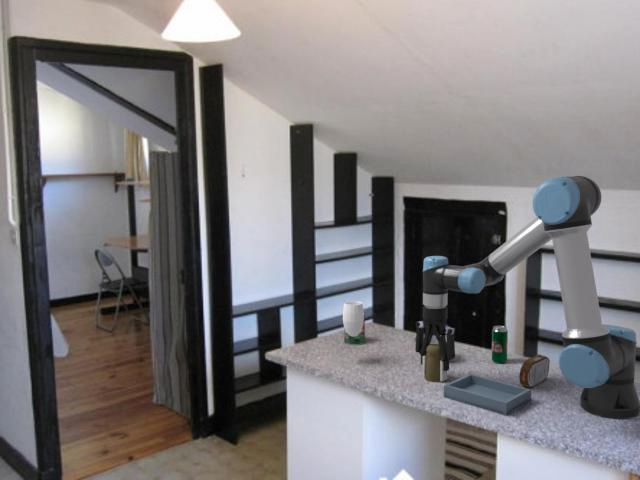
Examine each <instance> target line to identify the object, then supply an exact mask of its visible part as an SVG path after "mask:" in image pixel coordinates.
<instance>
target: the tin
mask: <svg viewBox="0 0 640 480" xmlns="http://www.w3.org/2000/svg"><path fill="white" fill-rule="evenodd" d="M550 361H551V360H550V358H549V357H547V356H546V355H542V354H540V353H539V354H536V355H534V356H533V357H530V358H527V359H525V361H524V362H523V363H522V365H521V367H520V371H519V375H518V376H519V377H518V379H519V380H518V381H519V384H520V386H521V387H524V388H528V389H531V388H534V387H535V386H537V385H539V384H541V383H543V382H545V380H546V379H547V378H548V375H549V372H550V363H551V362H550Z"/></svg>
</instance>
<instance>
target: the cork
mask: <svg viewBox="0 0 640 480" xmlns="http://www.w3.org/2000/svg"><path fill="white" fill-rule="evenodd" d="M427 354H428V361H427V368H426V375H425V377H424V379H425V380H426V381H427V382H431V383H441V382H442V381H440V361H441V360H442V355H441V351H440V347H439V345H438V344H430V345H428V347H427Z"/></svg>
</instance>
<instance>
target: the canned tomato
mask: <svg viewBox="0 0 640 480" xmlns="http://www.w3.org/2000/svg"><path fill="white" fill-rule="evenodd" d="M365 317H366V313H364V322H363V327H362V331H361V333H359V334H358V335H357V336H355V337H352V336H350V335H349V334H348V333H346V331H345V328H344V327H343V330H344V331H343V332H344V333H343V334H344V335H343V336H344V337H343V343H344V344H346V345H348V346H360V345H361V346H362V345H364V344H366V340H365V339H366V332H365V331H366V330H365V328H366V327H365V326H366V325H365V324H366V323H365V320H366V319H365Z"/></svg>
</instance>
